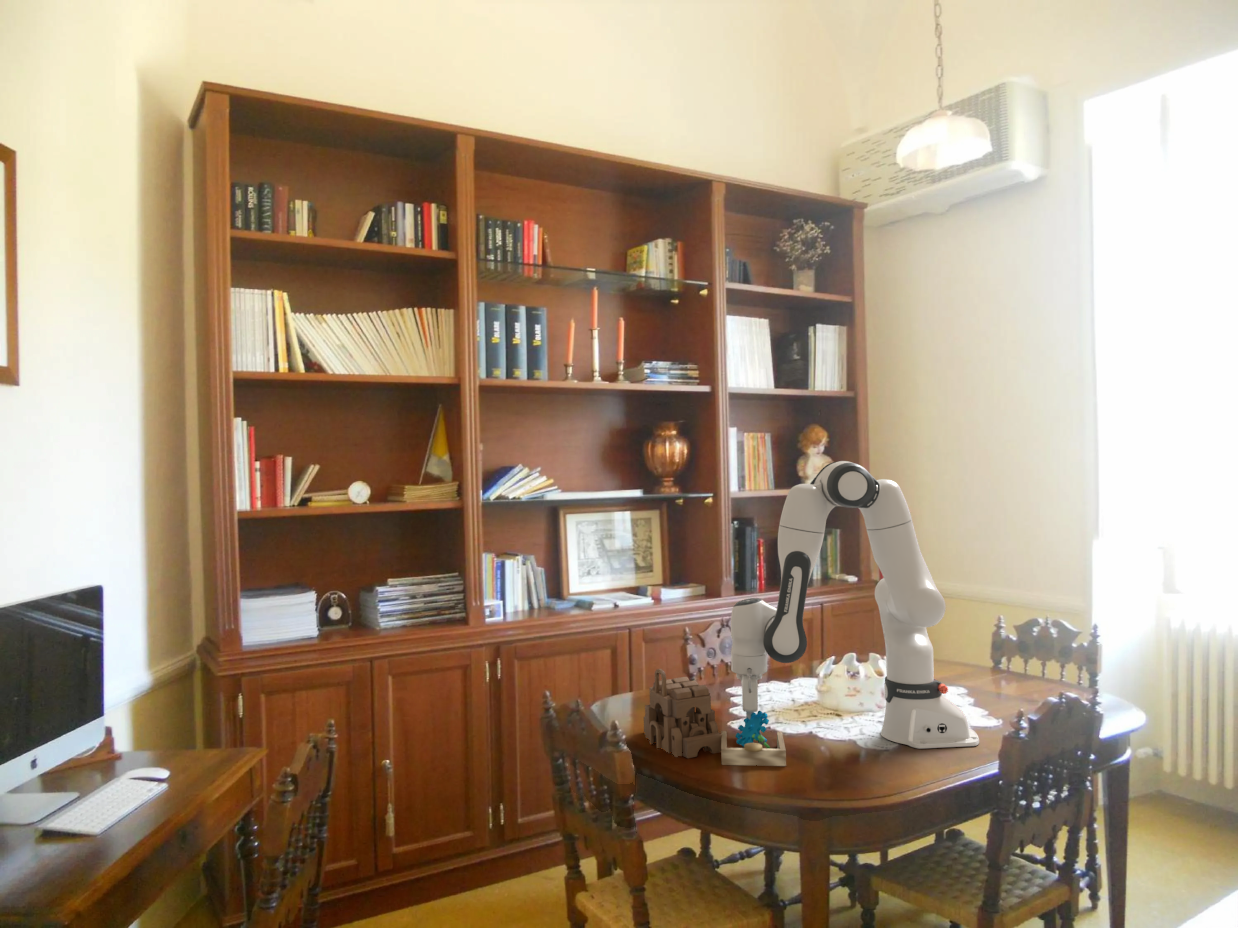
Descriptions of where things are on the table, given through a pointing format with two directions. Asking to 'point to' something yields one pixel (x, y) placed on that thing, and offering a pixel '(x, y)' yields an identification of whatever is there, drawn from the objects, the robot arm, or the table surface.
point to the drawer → (753, 753)
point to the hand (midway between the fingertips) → (750, 719)
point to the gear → (753, 729)
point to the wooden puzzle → (681, 717)
